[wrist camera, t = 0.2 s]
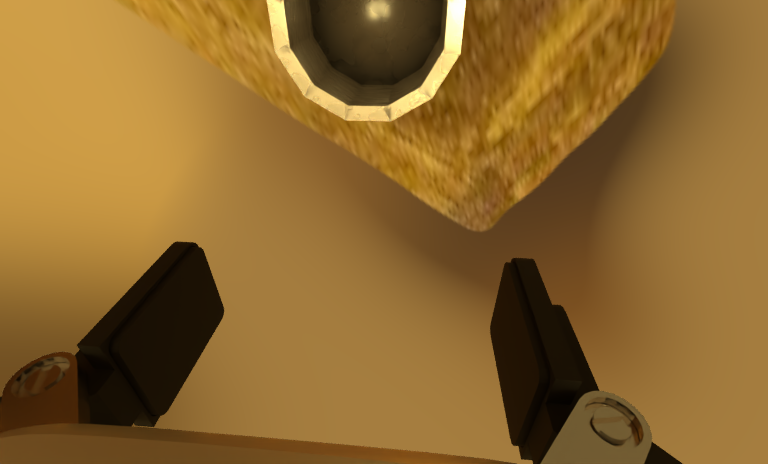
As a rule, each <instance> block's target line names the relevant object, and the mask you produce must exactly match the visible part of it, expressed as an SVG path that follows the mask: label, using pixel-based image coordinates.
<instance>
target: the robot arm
mask: <svg viewBox="0 0 768 464" xmlns="http://www.w3.org/2000/svg"><path fill="white" fill-rule="evenodd" d="M223 315H224V307H223V304H222V301H221V298H220V296H219V293H218V290H217V287H216V284H215V281H214V279H213V276H212V273H211V270H210V267H209V265H208V262H207V259H206V256H205V253H204V251H203V249H202V248H200V247H198V245H197V244H196V243H193V242H175V243H173V244H172V245H171V246H170V247H169V248H168V249H167V250H166V251H165V252H164V253H163V254H162V255H161V257H160V258H159V259H158V260H157V261H156V262H155V263H154V264H153V265H152V266H151V267H150V268H149V269H148V270H147V271H146V272H145V273H144V275H143V276H142V277H141V278H140V279H139V280H138V281H137V282H136V283H135V284H134V285H133V286H132V287H131V288H130V289H129V290H128V292H127V293H126V294H125V295H124V296H123V297H122V298H121V299H120V300H119V301H118V302H117V303H116V304H115V305H114V306H113V307H112V308H111V310H110V311H109V312H108V313H107V314H106V315H105V316H104V317H103V318H102V319H101V320H100V321H99V322H98V323H97V324H96V326H94V327H93V329H92V330H91V331H90V332H89V333H88V334H87V335H86V336H85V337H84V338H83V339H82V340H81V341H80V343H78V344H77V346H78V348H79V349H80V350H79V351H78V352H77V353H76V355H75V356H74V355H73V354H72V353H69V352H54V353H51V354H47V355H44V356H41V357H39V358H37V359H35V360H33V361H31V362H29V363H28V364H26V365H25V366H23V367H22V368H20V370H18V371H17V372H16V373H15V374H14V375H12V377H11V378H10V379H9V380H8V382H7V383H6V384H5V387H4V389H3V392H2V396H1V397H0V464H515V463H508V462H502V461H496V460H490V459H483V458H474V457H465V456H456V455H447V454H438V453H429V452H419V451H408V450H397V449H386V448H376V447H364V446H354V445H344V444H332V443H322V442H311V441H298V440H288V439H277V438H265V437H253V436H242V435H231V434H230V435H229V434H218V433H206V432H194V431H182V430H170V429H157V428H146V427H131V426H132V425H133V423H134V424H135V425H137V426H148V427H154V426H155V424H156V422H157V421H158V419H159V417H160V416H161V415H164V414H165V413H166V412H167V411H168V409H169V408H170V406H171V405H172V403H173V401H174V399H175V398H176V396H177V394H178V393H179V391H180V389H181V388H182V386H183V384H184V382H185V381H186V379H187V377H188V376H189V374H190V372H191V371H192V369H193V367H194V366H195V364H196V362H197V360H198V359H199V357H200V355H201V353H202V352H203V350H204V349H205V346H206V345H207V343H208V342H209V340H210V338H211V337H212V335H213V333H214V332H215V330H216V328H217V327H218V325H219V323H220V321H221V320H222V318H223ZM490 333H491V340H492V345H493V350H494V355H495V361H496V366H497V371H498V376H499V381H500V387H501V392H502V397H503V403H504V408H505V413H506V418H507V424H508V429H509V434H510V439H511V443H512V444H513V445H514V446H519V451H520V456H521V459H524V460H532V461H533V464H682V463H681V462H680V461H678V460H676V459H675V458H674V457H672V456H671V455H670V454H668V453H667V452H666V451H664V450H663V449H661V448H660V447H659V446H657V445H656V444H654V443H653V442H652V434H651V430H650V427H649V425H648V423H647V421H646V420H645V418H644V416H643V415H642V414H641V413H640V412H639V411H638V410H637V409H636V408H635V407H634V406H633V405H632V404H630V403H629V402H628V401H626V400H625V399H623V398H621V397H619V396H617V395H615V394H613V393H609V392H604V391H599V389H598V386H597V384H596V382H595V379H594V377H593V375H592V372H591V370H590V368H589V365H588V363H587V361H586V358H585V356H584V354H583V351H582V349H581V347H580V344H579V342H578V340H577V337H576V335H575V333H574V330H573V328H572V326H571V324H570V321H569V319H568V316H567V314H566V312H565V310H564V308H563V307H562V306H561V305H552V303H551V301H550V299H549V296H548V293H547V291H546V288H545V286H544V283H543V281H542V278H541V276H540V273H539V271H538V268H537V266H536V263H535V261H534V260H533V259H526V258H513V259H512V260H511V263H508V262H506V263H505V265H504V269H503V273H502V277H501V282H500V286H499V290H498V295H497V299H496V303H495V308H494V312H493V317H492V321H491V326H490Z"/></svg>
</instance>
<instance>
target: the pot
mask: <svg viewBox="0 0 768 464" xmlns="http://www.w3.org/2000/svg"><path fill="white" fill-rule="evenodd" d="M465 4H466V0H267V5H268V11H269V17H270V24H271V30H272V36H273V42H274V49H275V53H276V54H277V56H278V57H279V59H280V60H281V62H282V63H283V65H284V66H285V68H286V69H287V71H288V72H289V74H290V75H291V77H292V78H293V80H294V81H295V83H296V84H297V86H298V87H299V89H300V90H301V92H302V93H303V95H304V96H305V97H306V98H308V99H310V100H311V101H313V102H315V103H317V104H318V105H320V106H322V107H324V108H325V109H327V110H329V111H330V112H332V113H334V114H336V115H337V116H339V117H341V118H343V119H344V120H350V121H392V120H394V119H396V118H398V117H399V116H401V115H403V114H405V113H407V112H408V111H410V110H412V109H414V108H416V107H417V106H419V105H421V104H423V103H425V102H426V101H428V100H430V99H432V98H433V96H434V94H435V93H436V91H437V90H438V88H439V87H440V85H441V83H442V82H443V80H444V79H445V77H446V76H447V74H448V72H449V71H450V69H451V68H452V66H453V64H454V63H455V61H456V60H457V58H458V57H459V55H460V54H461V44H462V34H463V24H464V14H465Z"/></svg>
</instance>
